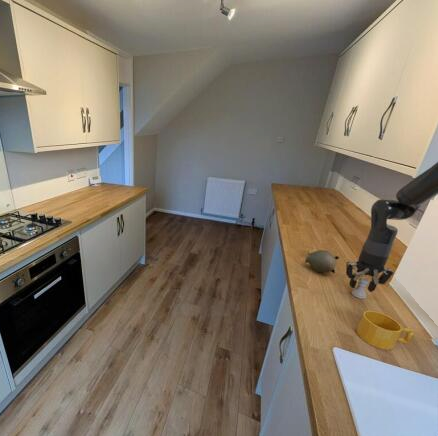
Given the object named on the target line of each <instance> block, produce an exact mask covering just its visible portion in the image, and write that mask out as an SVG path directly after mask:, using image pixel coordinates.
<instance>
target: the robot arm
mask: <svg viewBox="0 0 438 436" xmlns="http://www.w3.org/2000/svg"><path fill="white" fill-rule="evenodd" d="M436 196H438V161H437V162H436V163H434V164H433V165H432V166H430V167H429V168H428V169H426V170H425V171H423V172H421V173H420V174H418V175H417V176H416V177H414V178H413V179H412V180H410V181H409V182H408V183H406V184H405V185H404V186H402V187H401V188H400V189H399V190H398V191H397V192H396V193H395V198H396V199H392V198H381V199H378V200H376V201H375V202H374V203H373V204H372V205H371V208H370V229H369V232H368V234H367V238H366V239H365V241H364V243H363V245H362V248H361V251H360V254H359V256H358V260H357V261H356V262H350V261H347V262H346V266H345V267H346V268H345V270H346V272H345V275H346V276H347V277H348V279H349V282H348V285H349V286H350V288H351V289H355V288H356V287H357V286H356V285H357V284H358V281H359V279H360V278H361V277H364V276H369V277H370V278H371V280H369V284H368V285H367V290H368V292H370V293H373V292H374V291H375V290H376V288H377V285H379V284H381V285H385V284H386V283H387V282H388V281H389V280H390V278H391V277H392V276H393V274H394V271H392V270H391V269H390V268H386V267H385V266H386V264H387V262H388V260H389V257H390V255H391V252H392V249H393V245H394V243H395V240H396V238H397V235H398V232H399V231H398V228H397V227H395V226H394V225H391V224H388V220H391V221H392V220H393V221H394V220H395V221H404V220H407V219H410V218H412V217H413V216H414V215H415V214H416V213H417V212H418V210H420V208H421V207H422V206H423V204H425V203H427V202H428V201H430V200H431V199H434V198H435V197H436ZM355 268H356V269H355ZM354 269H355V270H354ZM353 270H354V272H353ZM380 273H381V275H380V276H379V274H380Z"/></svg>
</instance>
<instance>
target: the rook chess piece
mask: <svg viewBox="0 0 438 436" xmlns="http://www.w3.org/2000/svg"><path fill="white" fill-rule="evenodd" d="M369 283H370V279H368V278H367V277H364V276H362V277H360V278H359V279H358V281H357V286H355V288H352V291H351V295H352V296H353V297H355V298H357V299H361V300H364V299H366V298H367V292H366V289H367V288H368V285H369Z"/></svg>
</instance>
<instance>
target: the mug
mask: <svg viewBox="0 0 438 436" xmlns="http://www.w3.org/2000/svg"><path fill="white" fill-rule="evenodd" d="M402 332H404V333H406V334H405V336H404V337H400V336H401V334H402ZM356 333H357V335H358V337H359V338H360V339H361V340H363V341H364V342H366V344H369V345H370V346H373V347H375V348H377V349H380V350H384V351H385V350H388V351H389V350H392V349H393V348H394V347H395V346H396V344H397V342H400V343H405V344H409V343H410V341H411V340H412V338H413V336H414V334H415V330H414V329H411V328H409V327H404V326H402V325H401V324H400V323H399V322H398V321H397V320H395V318H393V317H391V316H390V315H387V314H384V313H382V312H380V311H376V310H366V311H364V312H362V315H361V317H360V320H359V323H358V324H357V328H356Z"/></svg>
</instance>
